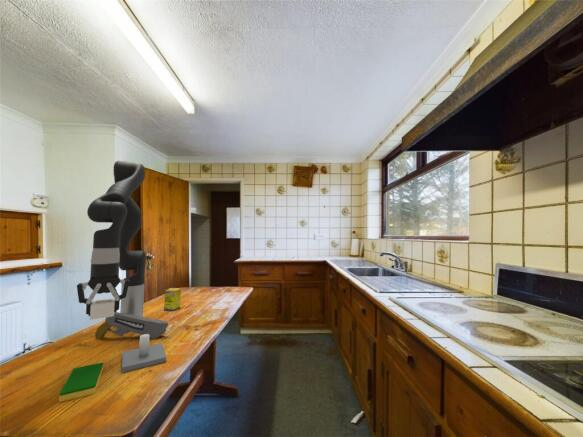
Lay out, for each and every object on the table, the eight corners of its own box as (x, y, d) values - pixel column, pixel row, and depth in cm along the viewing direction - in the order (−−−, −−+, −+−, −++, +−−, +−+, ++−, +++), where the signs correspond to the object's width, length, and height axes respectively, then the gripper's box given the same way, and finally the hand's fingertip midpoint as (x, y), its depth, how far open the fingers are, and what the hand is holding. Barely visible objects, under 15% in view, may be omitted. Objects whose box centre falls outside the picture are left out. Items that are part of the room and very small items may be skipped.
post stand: (122, 356, 84) (123, 333, 85) (161, 347, 91) (162, 326, 91) (121, 372, 74) (122, 346, 75) (166, 361, 81) (167, 338, 81)
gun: (151, 361, 98) (167, 324, 100) (90, 338, 97) (107, 302, 98) (154, 357, 101) (170, 321, 103) (96, 335, 100) (112, 299, 101)
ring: (92, 314, 82) (93, 300, 82) (114, 311, 85) (115, 298, 85) (89, 319, 77) (90, 305, 77) (113, 316, 80) (114, 302, 80)
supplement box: (163, 310, 135) (164, 290, 135) (170, 307, 140) (171, 287, 141) (173, 311, 134) (174, 290, 134) (180, 308, 140) (181, 288, 140)
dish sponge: (58, 403, 61) (59, 393, 61) (73, 376, 73) (73, 367, 73) (94, 394, 65) (95, 385, 65) (103, 369, 77) (103, 361, 77)
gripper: (131, 259, 89) (129, 307, 88) (79, 261, 81) (76, 314, 80) (131, 261, 83) (129, 313, 82) (75, 264, 75) (71, 321, 74)
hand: (102, 313), depth 81 cm, fingers closed on ring, 6 cm apart
